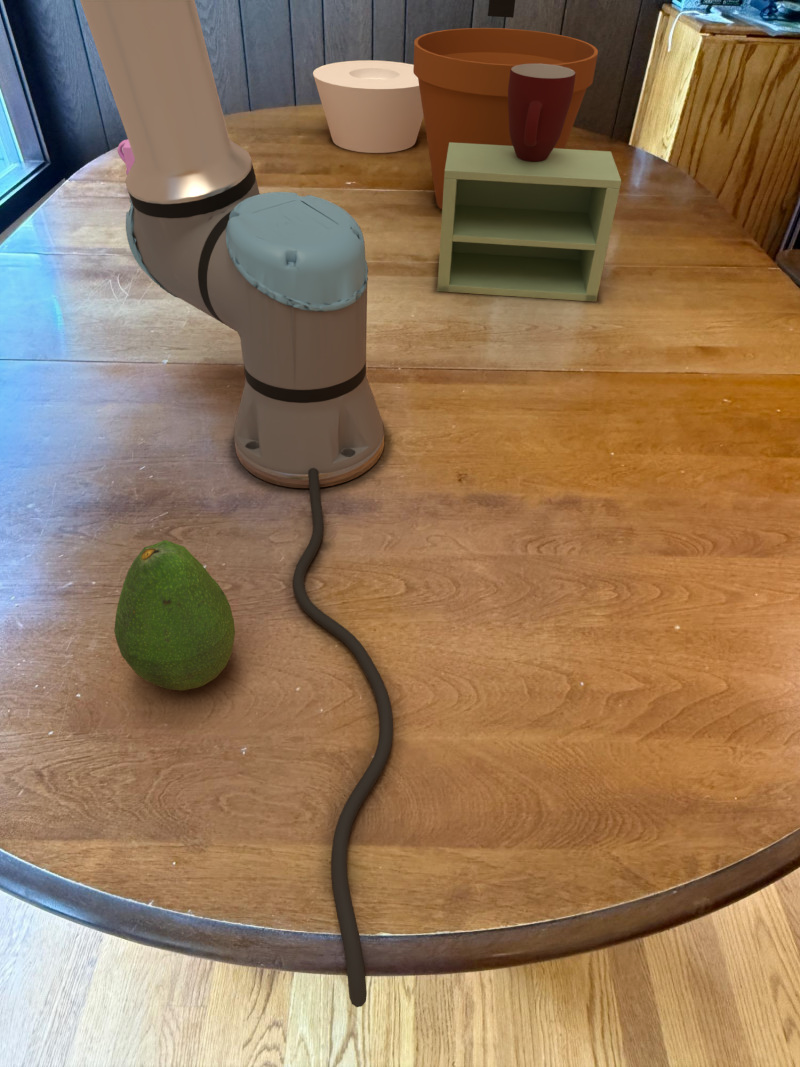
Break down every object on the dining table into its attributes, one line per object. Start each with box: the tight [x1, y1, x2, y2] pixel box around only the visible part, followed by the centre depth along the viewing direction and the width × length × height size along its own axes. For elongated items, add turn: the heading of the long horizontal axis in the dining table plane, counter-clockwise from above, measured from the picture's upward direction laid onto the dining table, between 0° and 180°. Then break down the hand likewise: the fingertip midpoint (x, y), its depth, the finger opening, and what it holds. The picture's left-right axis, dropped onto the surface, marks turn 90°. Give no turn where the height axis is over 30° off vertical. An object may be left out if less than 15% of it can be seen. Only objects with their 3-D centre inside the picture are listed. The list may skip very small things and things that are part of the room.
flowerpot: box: [413, 27, 599, 210], centre depth 126 cm, size 28×28×24 cm
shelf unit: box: [436, 142, 622, 303], centre depth 106 cm, size 12×22×16 cm, turn 85°
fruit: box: [113, 539, 236, 691], centre depth 54 cm, size 8×8×12 cm
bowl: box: [312, 59, 424, 154], centre depth 156 cm, size 24×24×12 cm
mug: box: [508, 64, 576, 162], centre depth 98 cm, size 10×8×10 cm
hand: (500, 7), depth 87 cm, fingers open, 13 cm apart
